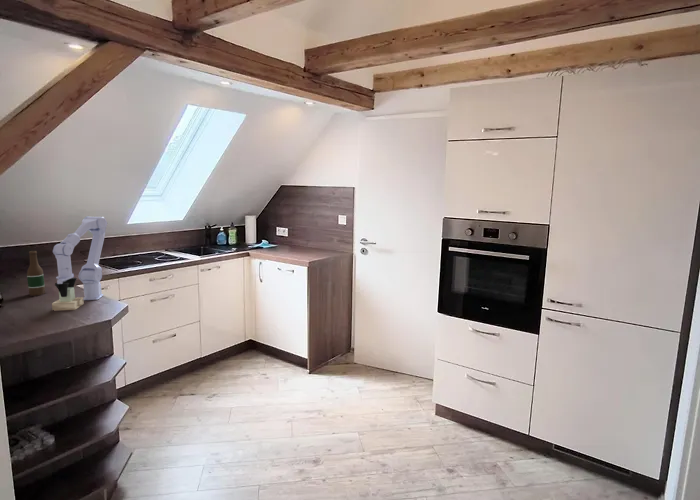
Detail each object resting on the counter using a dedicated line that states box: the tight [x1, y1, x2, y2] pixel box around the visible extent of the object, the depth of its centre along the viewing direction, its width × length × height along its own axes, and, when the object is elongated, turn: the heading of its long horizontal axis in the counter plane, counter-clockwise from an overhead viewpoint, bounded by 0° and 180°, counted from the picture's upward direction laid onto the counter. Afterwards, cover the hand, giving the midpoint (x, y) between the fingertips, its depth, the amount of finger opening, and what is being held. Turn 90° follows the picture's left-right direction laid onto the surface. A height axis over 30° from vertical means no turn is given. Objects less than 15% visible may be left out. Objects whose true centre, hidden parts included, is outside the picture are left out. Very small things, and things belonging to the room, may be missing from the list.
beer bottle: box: [26, 250, 46, 297], centre depth 237 cm, size 8×8×24 cm
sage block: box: [58, 286, 76, 302], centre depth 216 cm, size 5×5×6 cm
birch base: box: [51, 296, 85, 311], centre depth 217 cm, size 10×10×4 cm
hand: (67, 294), depth 216 cm, fingers open, 7 cm apart
